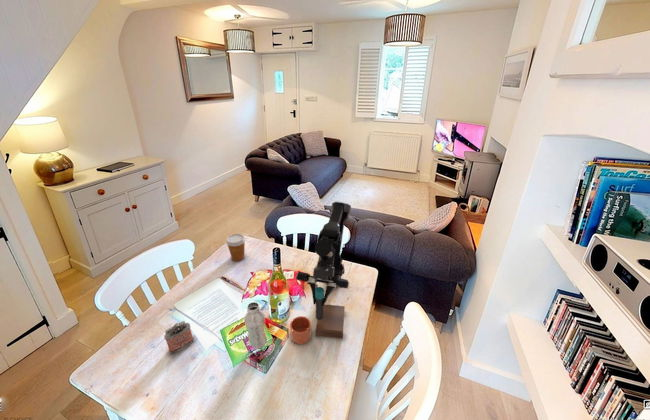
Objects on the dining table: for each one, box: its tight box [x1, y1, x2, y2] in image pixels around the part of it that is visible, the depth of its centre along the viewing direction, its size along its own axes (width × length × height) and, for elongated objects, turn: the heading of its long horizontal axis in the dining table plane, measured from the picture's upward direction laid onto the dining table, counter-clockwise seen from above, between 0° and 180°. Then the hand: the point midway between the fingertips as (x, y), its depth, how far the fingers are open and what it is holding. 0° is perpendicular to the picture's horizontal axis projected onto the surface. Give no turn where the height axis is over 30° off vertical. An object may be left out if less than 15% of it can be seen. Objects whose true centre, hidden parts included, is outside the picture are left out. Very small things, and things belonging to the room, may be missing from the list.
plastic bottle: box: [243, 301, 268, 349], centre depth 89 cm, size 6×7×20 cm
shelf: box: [315, 303, 346, 340], centre depth 103 cm, size 12×10×4 cm
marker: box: [315, 286, 325, 321], centre depth 96 cm, size 3×3×13 cm
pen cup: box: [289, 315, 312, 345], centre depth 98 cm, size 7×7×6 cm
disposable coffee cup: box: [225, 233, 246, 262], centre depth 139 cm, size 10×10×12 cm
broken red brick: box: [163, 320, 195, 355], centre depth 92 cm, size 8×3×10 cm, turn 134°
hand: (318, 305), depth 94 cm, fingers closed on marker, 3 cm apart
